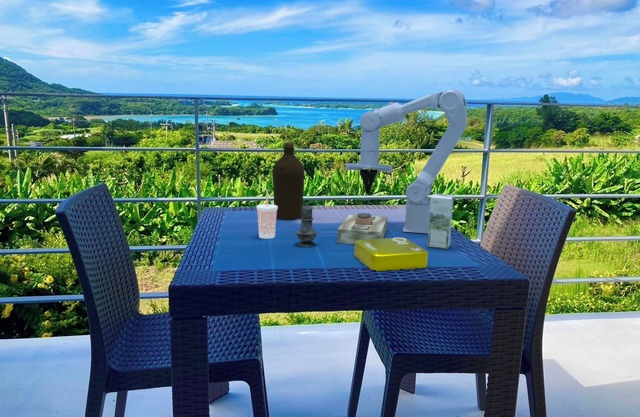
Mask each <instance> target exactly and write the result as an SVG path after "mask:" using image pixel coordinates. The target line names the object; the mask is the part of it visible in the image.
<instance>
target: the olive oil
mask: <svg viewBox="0 0 640 417" xmlns="http://www.w3.org/2000/svg"><path fill="white" fill-rule="evenodd" d="M294 144H295V143H294V142H291V141H290V142H288V141H287V142H284V143H283V145H284V146H283V154H282V156H280V158H279V159H278V160H277V161H276V162H275V164H274V165H273V168H272V187H273V205H276V206H278V208H277V214H276V220H277V219H278V220H282V221H283V220H284V221H285V220H286V221H294V220H295V221H296V220H301V219H300V218H301V217H302V207H303V206H304V205H303V204H304V202H303V201H304V189H305V188H304V186H305V175H306V174H305V171H306V170H305V166H304V165H303V163H302V161H301V160H299V159H298V158H297V156H296V155H295V146H294Z"/></svg>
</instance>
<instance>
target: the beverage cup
mask: <svg viewBox="0 0 640 417" xmlns="http://www.w3.org/2000/svg"><path fill="white" fill-rule="evenodd" d="M265 191H266V192H265V194H266V196H265V200H266V202H265V203H264V204H257V205H256V211H257V226H258V236H259V237H258V238H260V239H266V240H267V239H274V238H275V237H276V228H277V227H276V225H277V224H276V223H277V218H276V214H277V208H278V206H276V205H274V204H270V203H269V189H268V188H267V189H265Z"/></svg>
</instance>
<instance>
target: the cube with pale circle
mask: <svg viewBox="0 0 640 417" xmlns="http://www.w3.org/2000/svg"><path fill="white" fill-rule="evenodd" d="M353 229H355V230H369V228H368V227H367V226H364V225H356V226H354V228H353Z"/></svg>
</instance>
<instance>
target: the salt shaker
mask: <svg viewBox="0 0 640 417" xmlns="http://www.w3.org/2000/svg"><path fill="white" fill-rule="evenodd" d="M299 220H301V221H300V223H301V224H300V229H298V230H296V231H295V233H296V236H297V239H299V241H298V242H297V243H296V245H297V246H298V247H302V248H312V247H315V246H316V245H317V244H316V242H315V241H314V240H315V239H316V236H317V234H318V231H317V230H314V228H313V227H314V226H313V220H314V217H313V207H312V206H311V205H310V204H309V202H308V201H307V202H306V203H305V204H304V205H303V207H302V217H301V218H300V219H299Z"/></svg>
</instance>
